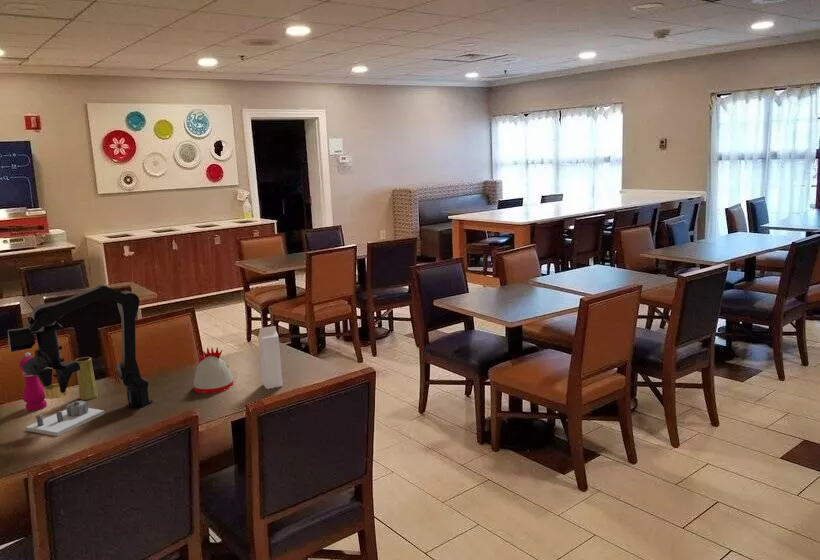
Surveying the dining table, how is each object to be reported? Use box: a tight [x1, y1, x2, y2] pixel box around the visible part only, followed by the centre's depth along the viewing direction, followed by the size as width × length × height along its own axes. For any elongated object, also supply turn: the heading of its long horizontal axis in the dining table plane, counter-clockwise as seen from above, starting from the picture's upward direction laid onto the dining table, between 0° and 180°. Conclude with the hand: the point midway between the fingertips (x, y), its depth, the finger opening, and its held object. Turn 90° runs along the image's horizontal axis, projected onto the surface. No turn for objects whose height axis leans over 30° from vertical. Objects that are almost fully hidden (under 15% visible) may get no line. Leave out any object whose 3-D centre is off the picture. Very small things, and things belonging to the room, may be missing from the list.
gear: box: [44, 382, 68, 400], centre depth 205 cm, size 6×6×3 cm
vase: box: [74, 356, 99, 401], centre depth 230 cm, size 6×6×14 cm
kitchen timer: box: [193, 346, 234, 394], centre depth 235 cm, size 14×14×15 cm
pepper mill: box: [18, 352, 47, 412], centre depth 221 cm, size 7×7×20 cm
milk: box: [257, 325, 284, 390], centre depth 232 cm, size 6×6×22 cm
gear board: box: [25, 400, 106, 437], centre depth 209 cm, size 14×18×5 cm
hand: (56, 391), depth 205 cm, fingers closed on gear, 6 cm apart
